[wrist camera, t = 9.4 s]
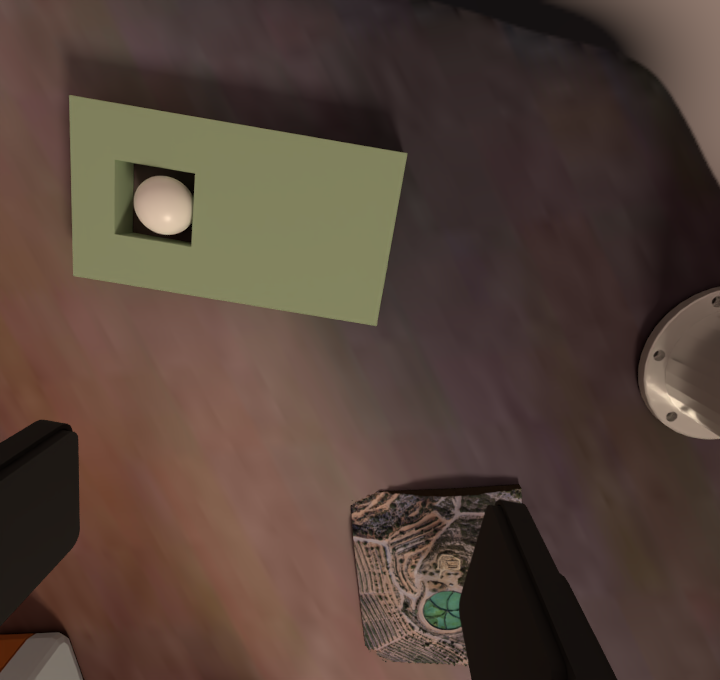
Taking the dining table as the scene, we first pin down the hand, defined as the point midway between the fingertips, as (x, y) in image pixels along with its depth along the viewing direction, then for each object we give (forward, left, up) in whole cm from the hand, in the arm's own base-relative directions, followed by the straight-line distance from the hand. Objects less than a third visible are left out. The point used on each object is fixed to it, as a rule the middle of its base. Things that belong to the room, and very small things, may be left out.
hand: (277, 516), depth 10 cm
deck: (+9, -5, -26) cm, 28 cm away
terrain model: (-13, +25, -27) cm, 39 cm away
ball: (+14, -5, -24) cm, 28 cm away
